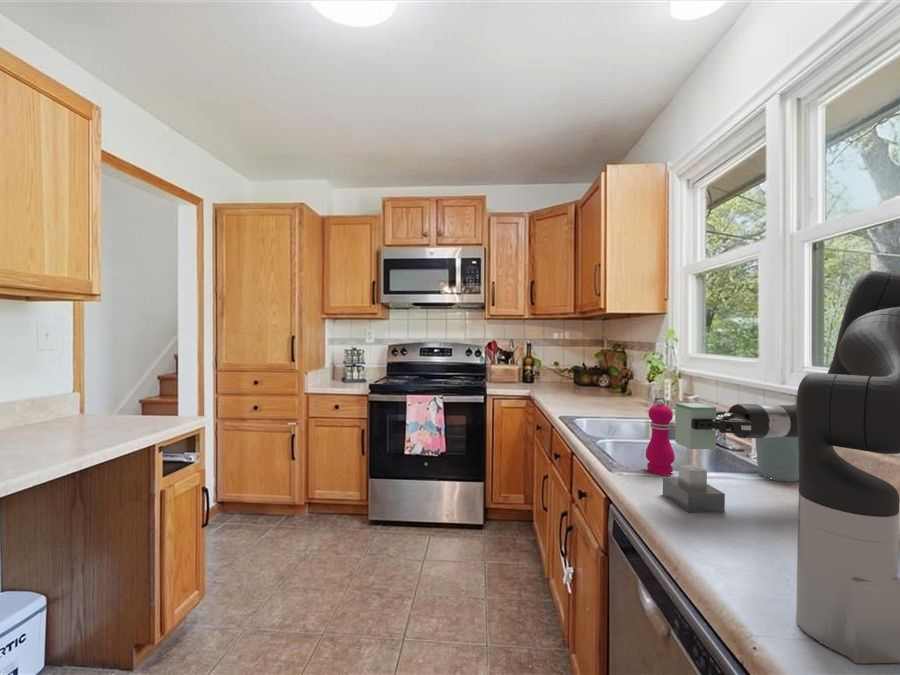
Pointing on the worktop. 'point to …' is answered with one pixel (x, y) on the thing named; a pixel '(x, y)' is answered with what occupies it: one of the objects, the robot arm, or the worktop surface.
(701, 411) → the tall mint pillar
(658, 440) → the pepper mill
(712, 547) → the worktop surface
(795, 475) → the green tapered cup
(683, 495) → the grey step block
